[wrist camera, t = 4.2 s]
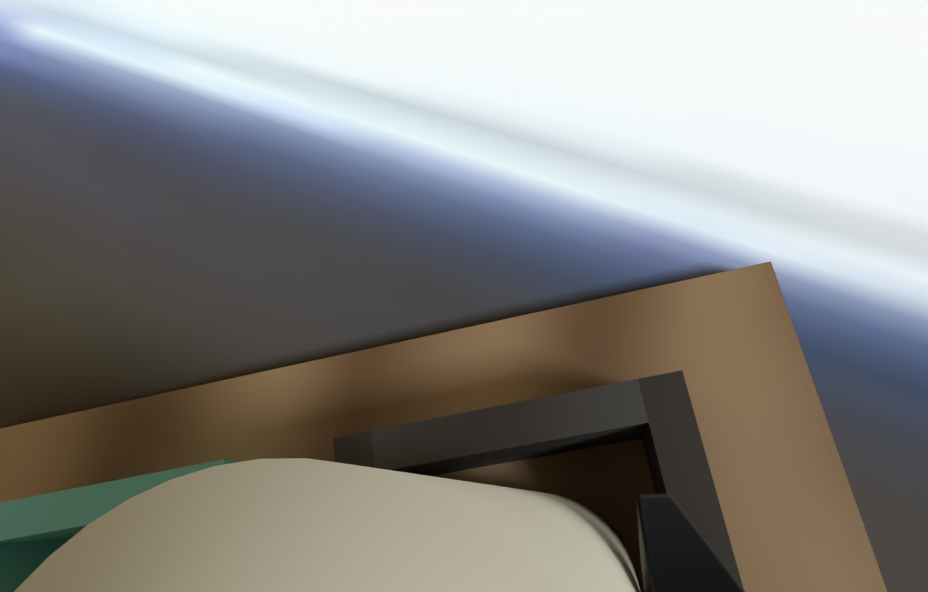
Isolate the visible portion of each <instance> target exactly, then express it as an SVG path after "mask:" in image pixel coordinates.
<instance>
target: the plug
mask: <svg viewBox="0 0 928 592" xmlns="http://www.w3.org/2000/svg"><path fill="white" fill-rule="evenodd" d="M14 592H641V591H640V587H639V584H638V580H637V577H636V573H635V569H634V566H633V563H632V560H631V557H630V554H629V552H628V550H627V547H626V545H625V543H624V542H623V540H622V538H621V537H620V535H619V533H618V532H617V531H616V530H615V528H614V527H613V526H612V525H611V523H610V522H609V521H608V520H607V519H606V518H605V517H604V516H603V515H601V514H600V513H599V512H597V511H596V510H595V509H593V508H592V507H590V506H588V505H587V504H585V503H583V502H581V501H578V500H576V499H574V498H570V497H567V496H563V495H557V494H550V493H543V492H536V491H529V490H522V489H516V488H509V487H502V486H495V485H488V484H481V483H475V482H468V481H461V480H454V479H447V478H440V477H434V476H427V475H420V474H413V473H406V472H399V471H393V470H386V469H379V468H372V467H365V466H358V465H352V464H344V463H337V462H330V461H323V460H316V459H308V458H283V459H255V460H249V461H243V462H236V463H230V464H224V465H217V466H213V467H210V468H207V469H203V470H200V471H197V472H194V473H190V474H187V475H184V476H181V477H177V478H174V479H171V480H169V481H167V482H164V483H162V484H160V485H158V486H156V487H154V488H151V489H149V490H147V491H145V492H143V493H141V494H139V495H136V496H134V497H132V498H130V499H128V500H126V501H125V502H123V503H122V504H120V505H118V506H117V507H115V508H114V509H112V510H111V511H109V512H107V513H106V514H104V515H103V516H101V517H99V518H98V519H96V520H95V521H93V522H91V523H90V524H88V525H87V526H86V527H85V528H83V529H82V530H81V531H80V532H78V533H77V534H76V535H75V536H73V537H72V538H71V539H70V540H68V541H67V542H66V543H65V544H64V545H62V546H61V547H60V548H59V549H57V550H56V551H55V552H54V553H52V554H51V555H50V556H49V557H48V558H47V559H46V560H45V561H44V562H43V563H42V564H41V565H40V566H39V567H38V568H37V569H36V570H35V571H34V572H33V573H32V574H31V575H30V576H29V577H28V578H27V579H26V580H25V581H24V582H23V583H22V584H21V585H20V586H19V587H18V588H17V589H16V590H15V591H14Z"/></svg>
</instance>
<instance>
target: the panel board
mask: <svg viewBox="0 0 928 592" xmlns="http://www.w3.org/2000/svg"><path fill="white" fill-rule="evenodd" d="M283 458H308V459H316V460H323V461H330V462H337V463H344V464H352V465H358V466H365V467H372V468H379V469H386V470H393V471H399V472H406V473H413V474H420V475H427V476H434V477H440V478H447V479H454V480H461V481H468V482H475V483H481V484H488V485H495V486H502V487H509V488H516V489H522V490H529V491H536V492H543V493H550V494H557V495H563V496H567V497H570V498H574V499H576V500H578V501H581V502H583V503H585V504H587V505H588V506H590V507H592V508H593V509H595V510H596V511H597V512H599V513H600V514H601V515H603V516H604V517H605V518H606V519H607V520H608V521H609V522H610V523H611V525H612V526H613V527H614V528H615V530H616V531H617V532H618V533H619V535H620V537H621V538H622V540H623V542H624V543H625V545H626V547H627V550H628V552H629V554H630V557H631V560H632V563H633V566H634V569H635V573H636V577H637V580H638V584H639V587H640V591H641V592H644V584H643V575H642V566H641V557H640V546H639V533H638V518H637V503H636V500H637V497H638V496H639V495H640V494H669V495H671V496H672V497H673V498H674V499H675V500H676V502H677V503H678V504H679V506H680V507H681V508H682V510H683V511H684V512H685V514H686V515H687V516H688V517H689V519H690V520H691V521H692V523H693V524H694V525H695V527H696V528H697V529H698V531H699V532H700V533H701V534H702V536H703V537H704V538H705V540H706V541H707V542H708V544H709V545H710V546H711V548H712V549H713V550H714V551H715V553H716V554H717V555H718V557H719V558H720V559H721V561H722V562H723V563H724V565H725V566H726V567H727V568H728V570H729V571H730V572H731V574H732V575H733V576H734V578H735V579H736V580H737V582H738V583H739V584H740V585H741V587H742V588H743V589H744V591H745V592H887V589H886V587H885V584H884V581H883V578H882V575H881V572H880V570H879V567H878V564H877V561H876V558H875V555H874V553H873V550H872V547H871V544H870V541H869V538H868V536H867V533H866V530H865V527H864V524H863V522H862V519H861V516H860V513H859V510H858V507H857V505H856V502H855V499H854V496H853V493H852V490H851V488H850V485H849V482H848V479H847V476H846V473H845V471H844V468H843V465H842V462H841V459H840V456H839V454H838V451H837V448H836V445H835V442H834V439H833V437H832V434H831V431H830V428H829V425H828V422H827V420H826V417H825V414H824V411H823V408H822V405H821V403H820V400H819V397H818V394H817V391H816V388H815V386H814V383H813V380H812V377H811V374H810V371H809V369H808V366H807V363H806V360H805V357H804V354H803V352H802V349H801V346H800V343H799V340H798V337H797V335H796V332H795V329H794V326H793V323H792V320H791V318H790V315H789V312H788V309H787V306H786V303H785V301H784V298H783V295H782V292H781V289H780V286H779V284H778V281H777V278H776V275H775V272H774V270H773V267H772V264H771V262H767V263H762V264H757V265H753V266H748V267H744V268H739V269H734V270H730V271H725V272H720V273H716V274H711V275H707V276H702V277H697V278H693V279H688V280H684V281H679V282H674V283H670V284H665V285H660V286H656V287H651V288H647V289H642V290H637V291H633V292H628V293H624V294H619V295H614V296H610V297H605V298H600V299H596V300H591V301H587V302H582V303H577V304H573V305H568V306H564V307H559V308H554V309H550V310H545V311H540V312H536V313H531V314H527V315H522V316H517V317H513V318H508V319H504V320H499V321H494V322H490V323H485V324H480V325H476V326H471V327H467V328H462V329H457V330H453V331H448V332H444V333H439V334H434V335H430V336H425V337H420V338H416V339H411V340H407V341H402V342H397V343H393V344H388V345H384V346H379V347H374V348H370V349H365V350H360V351H356V352H351V353H347V354H342V355H337V356H333V357H328V358H324V359H319V360H314V361H310V362H305V363H300V364H296V365H291V366H287V367H282V368H277V369H273V370H268V371H264V372H259V373H254V374H250V375H245V376H240V377H236V378H231V379H227V380H222V381H217V382H213V383H208V384H204V385H199V386H194V387H190V388H185V389H180V390H176V391H171V392H167V393H162V394H157V395H153V396H148V397H144V398H139V399H134V400H130V401H125V402H120V403H116V404H111V405H107V406H102V407H97V408H93V409H88V410H84V411H79V412H74V413H70V414H65V415H60V416H56V417H51V418H47V419H42V420H37V421H33V422H28V423H24V424H19V425H14V426H10V427H5V428H0V503H1V502H6V501H11V500H17V499H22V498H27V497H32V496H37V495H42V494H48V493H53V492H58V491H63V490H68V489H73V488H78V487H84V486H89V485H94V484H99V483H104V482H109V481H115V480H120V479H125V478H130V477H135V476H140V475H146V474H151V473H156V472H161V471H166V470H171V469H176V468H182V467H187V466H192V465H197V464H202V463H207V462H213V461H218V460H223V459H226V460H235V461H249V460H255V459H283Z"/></svg>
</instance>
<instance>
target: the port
mask: <svg viewBox="0 0 928 592" xmlns="http://www.w3.org/2000/svg"><path fill="white" fill-rule="evenodd" d="M236 462H243V461H235V460H226V459H223V460H218V461H213V462H207V463H202V464H197V465H192V466H187V467H182V468H176V469H171V470H166V471H161V472H156V473H151V474H146V475H140V476H135V477H130V478H125V479H120V480H115V481H109V482H104V483H99V484H94V485H89V486H84V487H78V488H73V489H68V490H63V491H58V492H53V493H48V494H42V495H37V496H32V497H27V498H22V499H17V500H11V501H6V502H1V503H0V592H14V591H15V590H16V589H17V588H18V587H19V586H20V585H21V584H22V583H23V582H24V581H25V580H26V579H27V578H28V577H29V576H30V575H31V574H32V573H33V572H34V571H35V570H36V569H37V568H38V567H39V566H40V565H41V564H42V563H43V562H44V561H45V560H46V559H47V558H48V557H49V556H50V555H51V554H52V553H54V552H55V551H56V550H57V549H59V548H60V547H61V546H62V545H64V544H65V543H66V542H67V541H68V540H70V539H71V538H72V537H73V536H75V535H76V534H77V533H78V532H80V531H81V530H82V529H83V528H85V527H86V526H87V525H88V524H90V523H91V522H93V521H95V520H96V519H98V518H99V517H101V516H103V515H104V514H106V513H107V512H109V511H111V510H112V509H114V508H115V507H117V506H118V505H120V504H122V503H123V502H125V501H126V500H128V499H130V498H132V497H134V496H136V495H139V494H141V493H143V492H145V491H147V490H149V489H151V488H154V487H156V486H158V485H160V484H162V483H164V482H167V481H169V480H171V479H174V478H177V477H181V476H184V475H187V474H190V473H194V472H197V471H200V470H203V469H207V468H210V467H213V466H217V465H224V464H230V463H236Z"/></svg>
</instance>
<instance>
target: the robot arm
mask: <svg viewBox="0 0 928 592" xmlns="http://www.w3.org/2000/svg"><path fill="white" fill-rule="evenodd" d="M636 503H637V518H638V533H639V546H640V557H641V566H642V575H643V584H644V592H745V591H744V589H743V588H742V587H741V585H740V584H739V583H738V582H737V580H736V579H735V578H734V576H733V575H732V574H731V572H730V571H729V570H728V568H727V567H726V566H725V565H724V563H723V562H722V561H721V559H720V558H719V557H718V555H717V554H716V553H715V551H714V550H713V549H712V548H711V546H710V545H709V544H708V542H707V541H706V540H705V538H704V537H703V536H702V534H701V533H700V532H699V531H698V529H697V528H696V527H695V525H694V524H693V523H692V521H691V520H690V519H689V517H688V516H687V515H686V514H685V512H684V511H683V510H682V508H681V507H680V506H679V504H678V503H677V502H676V500H675V499H674V498H673V497H672V496H671V495H669V494H640V495H639V496H638V497H637V500H636Z"/></svg>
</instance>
